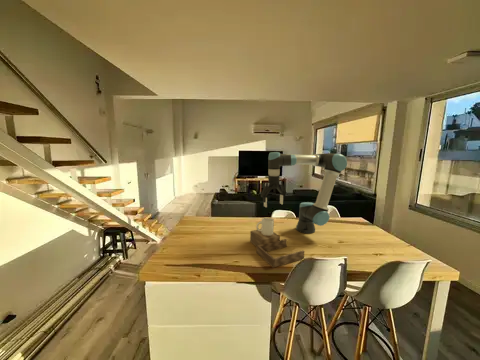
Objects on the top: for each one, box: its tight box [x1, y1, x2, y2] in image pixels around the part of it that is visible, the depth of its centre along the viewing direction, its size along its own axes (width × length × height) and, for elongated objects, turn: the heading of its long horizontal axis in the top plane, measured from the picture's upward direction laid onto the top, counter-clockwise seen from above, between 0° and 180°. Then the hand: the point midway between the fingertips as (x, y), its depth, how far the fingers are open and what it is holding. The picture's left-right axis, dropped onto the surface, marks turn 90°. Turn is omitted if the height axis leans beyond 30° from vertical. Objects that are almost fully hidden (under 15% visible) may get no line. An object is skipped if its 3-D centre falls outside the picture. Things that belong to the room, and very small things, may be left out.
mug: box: [255, 217, 275, 236], centre depth 149 cm, size 12×8×10 cm
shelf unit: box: [249, 228, 306, 268], centre depth 143 cm, size 23×34×8 cm
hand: (273, 205), depth 150 cm, fingers open, 13 cm apart
